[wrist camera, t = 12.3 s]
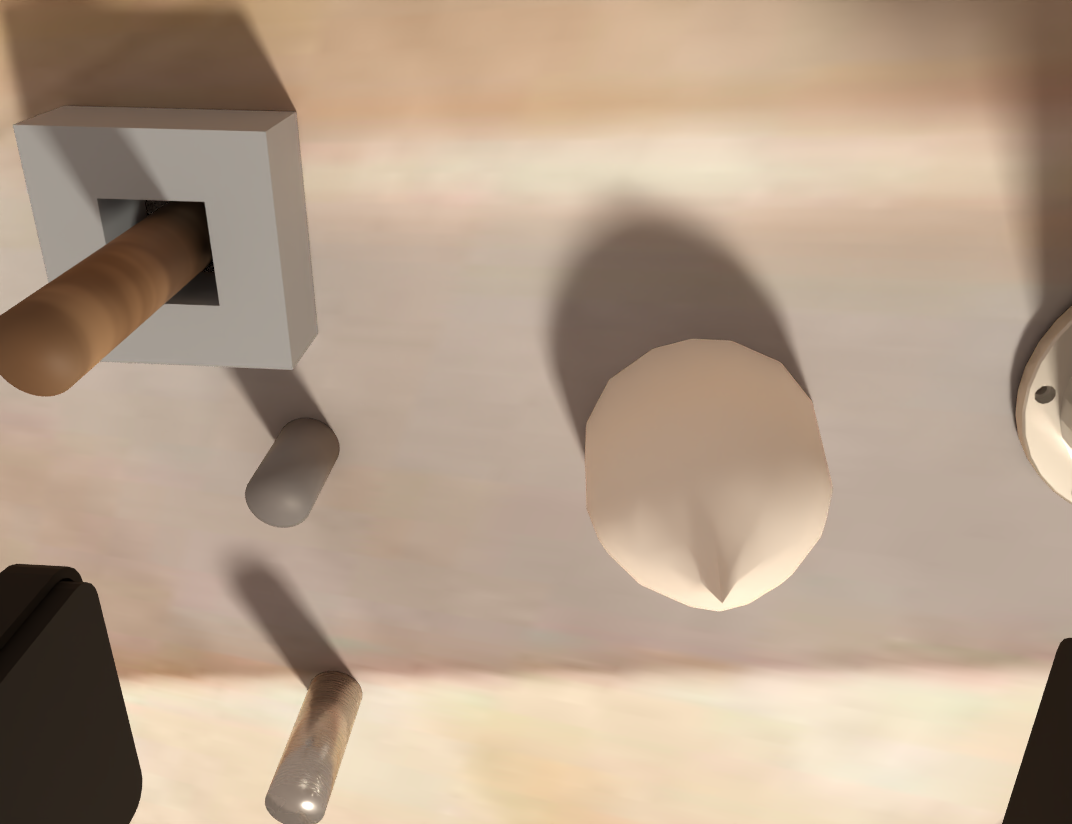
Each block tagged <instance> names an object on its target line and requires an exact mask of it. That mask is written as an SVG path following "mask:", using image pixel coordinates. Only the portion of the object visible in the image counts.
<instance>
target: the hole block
mask: <svg viewBox="0 0 1072 824" xmlns="http://www.w3.org/2000/svg"><path fill="white" fill-rule="evenodd" d="M13 128H14V133H15V137H16V141H17V146H18V150H19V155H20V159H21V163H22V168H23V172H24V176H25V181H26V185H27V190H28V194H29V198H30V203H31V207H32V211H33V216H34V220H35V225H36V229H37V233H38V238H39V242H40V247H41V251H42V255H43V260H44V264H45V268H46V273H47V277H48V282H51V281H52V280H54V279H55V278H57V277H58V276H60V275H61V274H63V273H64V272H66V271H67V270H69V269H70V268H72V267H73V266H75V265H76V264H78V263H79V262H81V261H82V260H84V259H85V258H87V257H88V256H90V255H91V254H93V253H94V252H96V251H97V250H99V249H100V248H102V247H103V246H104V245H106V244H107V243H109V242H110V241H112V240H113V239H115V238H116V237H118V236H119V235H121V234H122V233H124V232H125V231H127V230H128V229H130V228H131V227H133V226H134V225H136V224H137V223H139V222H140V221H142V220H143V219H145V218H146V217H147V211H146V205H145V200H163V201H194V202H205V208H206V215H207V222H208V229H209V236H210V243H211V249H212V256H213V263H214V270H215V272H200V273H199V274H198V275H197V276H195V277H194V278H193V279H192V280H191V281H190V282H189V283H188V284H186V285H185V286H184V287H183V288H182V289H181V290H180V291H178V292H177V293H176V294H175V295H174V296H173V297H172V298H171V299H169V300H168V301H167V302H166V303H165V304H164V305H163V306H162V307H160V308H159V309H158V310H157V311H156V312H155V313H154V314H153V315H151V316H150V317H149V318H148V319H147V320H146V321H145V322H144V323H142V324H141V325H140V326H139V327H138V328H137V329H136V330H135V331H133V332H132V333H131V334H130V335H129V336H128V337H127V338H126V339H124V340H123V341H122V342H121V343H120V344H119V345H118V346H117V347H115V348H114V349H113V350H112V351H111V352H110V353H109V354H108V355H106V356H105V357H104V358H103V359H102V360H101V361H100V362H120V363H144V364H167V365H191V366H214V367H238V368H261V369H285V370H293V369H294V367H295V366H296V364H297V363H298V362H299V360H300V359H301V357H302V356H303V354H304V353H305V352H306V350H307V349H308V347H309V346H310V344H311V343H312V342H313V340H314V339H315V337H316V336H317V334H318V327H317V317H316V307H315V297H314V286H313V276H312V266H311V256H310V246H309V236H308V226H307V215H306V205H305V195H304V185H303V175H302V165H301V154H300V144H299V134H298V124H297V114H296V112H290V111H252V110H213V109H174V108H135V107H96V106H62V107H59V108H57V109H54V110H51V111H48V112H46V113H43V114H40V115H38V116H35V117H32V118H30V119H27V120H24V121H22V122H19V123H16V124H14V125H13Z"/></svg>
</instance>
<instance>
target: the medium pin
mask: <svg viewBox="0 0 1072 824" xmlns="http://www.w3.org/2000/svg"><path fill="white" fill-rule="evenodd" d="M361 700H362V690H361V687H360V685H359V684H358V683H357V681H356V680H354V679H353V678H352V677H350V676H349V675H347V674H344V673H341V672H336V671H328V672H323V673H321V674H319V675H317V676H316V677H315V678H314V679H313V680H312V682H311V684H310V687H309V689H308V692H307V694H306V697H305V699H304V702H303V704H302V707H301V709H300V712H299V714H298V717H297V720H296V722H295V725H294V727H293V730H292V732H291V735H290V737H289V740H288V742H287V745H286V747H285V750H284V752H283V755H282V757H281V760H280V762H279V765H278V767H277V770H276V772H275V775H274V777H273V780H272V783H271V785H270V788H269V790H268V793H267V795H266V798H265V805H266V808H267V810H268V812H269V813H270V814H271V815H272V816H273V817H274V818H275V819H276V820H278V821H279V822H281V823H283V824H316V823H318V822H319V821H320V820H321V819H322V818H323V816H324V813H325V810H326V807H327V804H328V801H329V798H330V795H331V792H332V789H333V786H334V783H335V780H336V777H337V774H338V770H339V767H340V764H341V761H342V758H343V755H344V752H345V749H346V746H347V743H348V740H349V737H350V734H351V731H352V727H353V724H354V721H355V718H356V715H357V712H358V709H359V706H360V703H361Z"/></svg>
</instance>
